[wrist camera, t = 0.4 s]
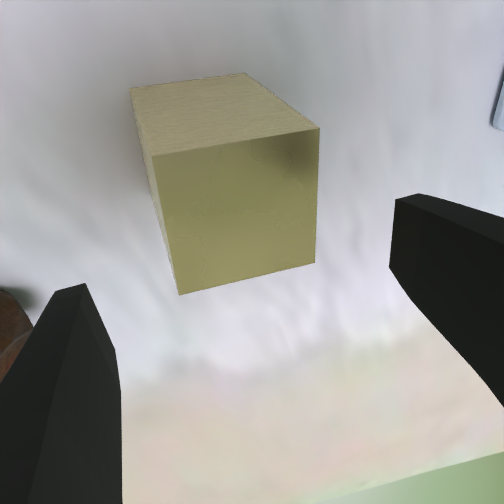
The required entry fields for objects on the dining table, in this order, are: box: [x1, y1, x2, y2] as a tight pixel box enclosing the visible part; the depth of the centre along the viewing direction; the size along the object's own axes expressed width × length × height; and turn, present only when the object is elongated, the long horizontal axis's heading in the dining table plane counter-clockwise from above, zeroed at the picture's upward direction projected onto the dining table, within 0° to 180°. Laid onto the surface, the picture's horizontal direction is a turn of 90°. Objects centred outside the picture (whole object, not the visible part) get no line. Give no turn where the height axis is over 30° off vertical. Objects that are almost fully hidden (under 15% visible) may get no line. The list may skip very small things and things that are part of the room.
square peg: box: [129, 73, 320, 295], centre depth 15 cm, size 4×4×7 cm
